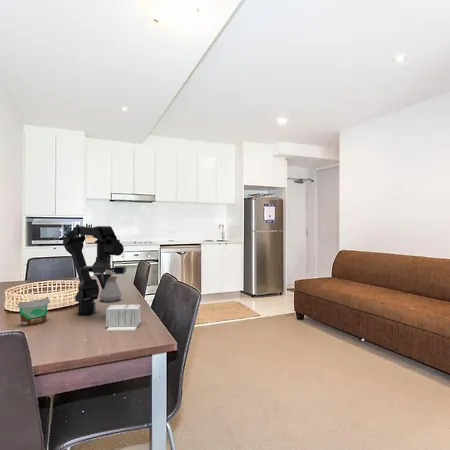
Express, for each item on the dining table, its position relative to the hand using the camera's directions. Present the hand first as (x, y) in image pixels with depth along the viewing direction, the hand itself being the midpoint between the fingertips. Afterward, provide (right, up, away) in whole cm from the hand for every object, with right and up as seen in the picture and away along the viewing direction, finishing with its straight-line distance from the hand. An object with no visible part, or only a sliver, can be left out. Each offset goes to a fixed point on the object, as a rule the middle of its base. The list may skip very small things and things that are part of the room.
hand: (103, 289), depth 144 cm
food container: (-25, -13, -9) cm, 29 cm away
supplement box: (+6, -9, -11) cm, 15 cm away
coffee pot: (-10, -13, +37) cm, 41 cm away
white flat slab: (+13, -13, -10) cm, 21 cm away
